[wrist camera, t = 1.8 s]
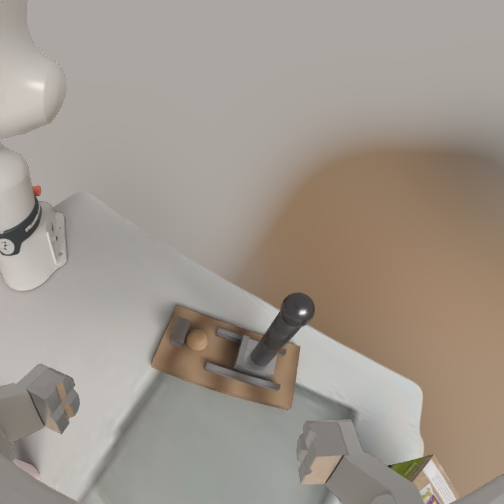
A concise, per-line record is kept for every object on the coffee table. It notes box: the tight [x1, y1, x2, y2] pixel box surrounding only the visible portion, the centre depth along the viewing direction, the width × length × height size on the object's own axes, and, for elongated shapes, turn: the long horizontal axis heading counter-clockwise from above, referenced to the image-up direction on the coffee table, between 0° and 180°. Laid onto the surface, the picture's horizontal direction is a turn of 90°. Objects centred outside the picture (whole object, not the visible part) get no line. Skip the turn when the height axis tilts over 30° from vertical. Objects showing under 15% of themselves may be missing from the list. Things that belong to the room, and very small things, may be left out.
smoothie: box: [12, 458, 40, 481], centre depth 13 cm, size 6×6×14 cm
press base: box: [151, 305, 300, 410], centre depth 42 cm, size 23×12×6 cm, turn 78°
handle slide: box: [231, 293, 315, 381], centre depth 36 cm, size 6×5×19 cm
